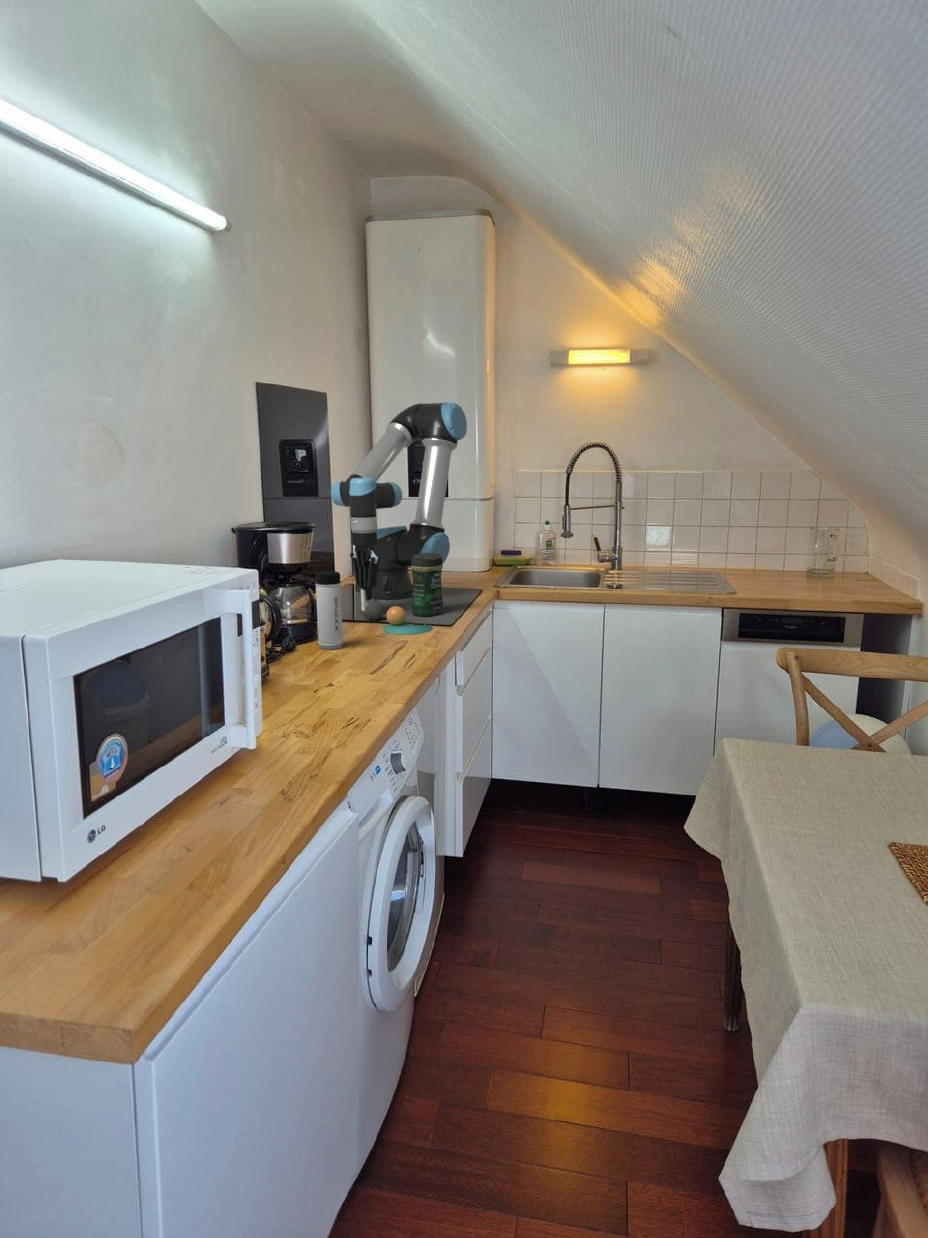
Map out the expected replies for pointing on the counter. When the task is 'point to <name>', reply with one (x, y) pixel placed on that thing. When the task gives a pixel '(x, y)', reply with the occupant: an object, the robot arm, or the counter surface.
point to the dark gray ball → (374, 610)
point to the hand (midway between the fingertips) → (366, 610)
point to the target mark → (406, 628)
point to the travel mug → (329, 609)
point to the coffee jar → (427, 584)
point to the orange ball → (395, 615)
